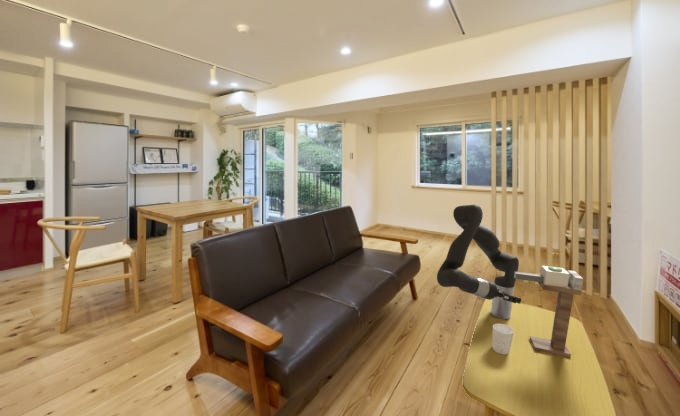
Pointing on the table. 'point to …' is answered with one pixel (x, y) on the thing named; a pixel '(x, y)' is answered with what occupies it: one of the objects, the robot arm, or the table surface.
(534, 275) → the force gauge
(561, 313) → the wooden pedestal stand
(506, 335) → the white cup
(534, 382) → the table surface
